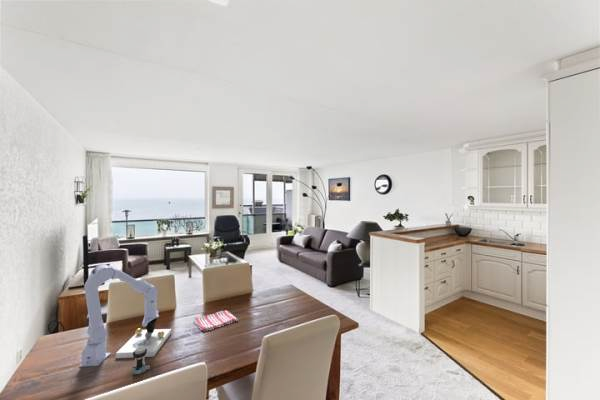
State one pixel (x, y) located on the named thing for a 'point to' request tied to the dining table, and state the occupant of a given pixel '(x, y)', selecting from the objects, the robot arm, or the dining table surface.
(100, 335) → the robot arm
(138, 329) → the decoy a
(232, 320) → the dish towel
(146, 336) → the ball
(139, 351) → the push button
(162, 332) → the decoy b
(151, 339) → the plate
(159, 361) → the dining table surface
